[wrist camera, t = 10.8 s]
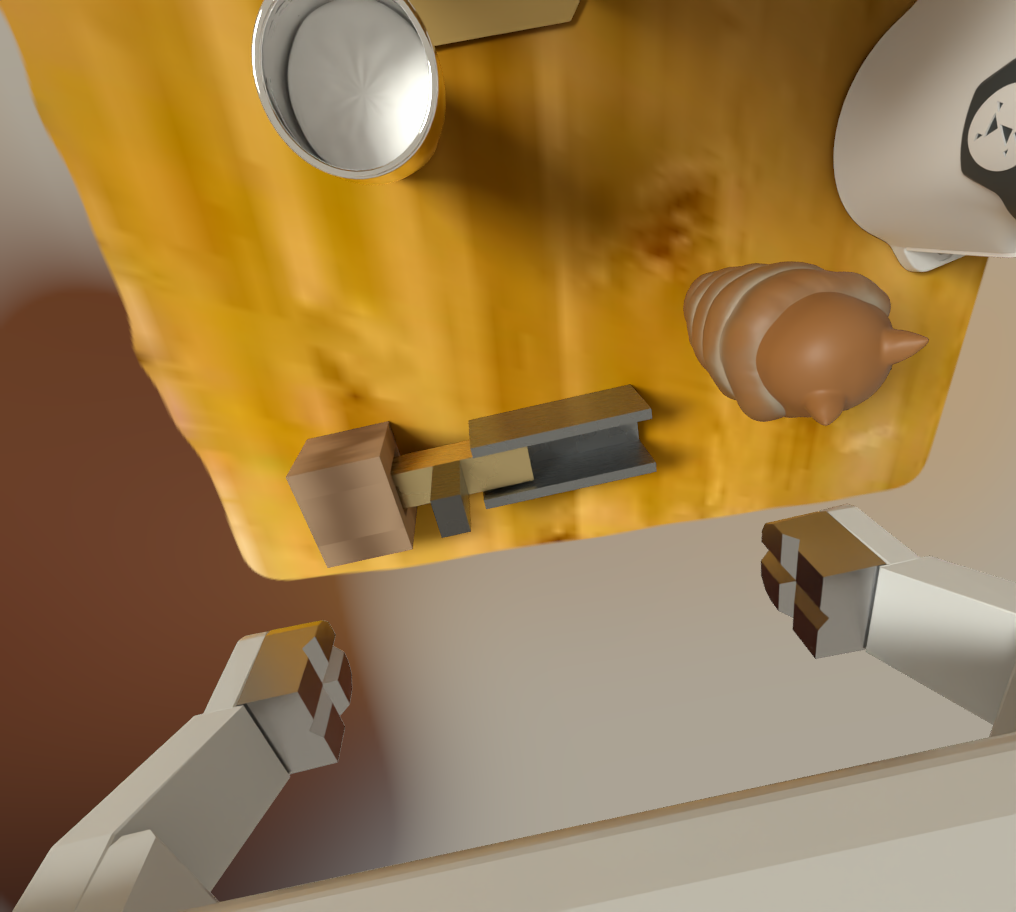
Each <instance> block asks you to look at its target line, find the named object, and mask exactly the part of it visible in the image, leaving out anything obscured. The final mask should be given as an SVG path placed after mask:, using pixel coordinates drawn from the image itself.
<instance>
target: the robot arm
mask: <svg viewBox="0 0 1016 912" xmlns="http://www.w3.org/2000/svg"><path fill="white" fill-rule="evenodd" d="M834 175H835V181H836V185H837V190H838V193H839V196H840V198H841V201H842V203H843V205H844V207H845V209H846V210H847V212H848V213H849V215H850V216H851V217H852V219H853V220H854V221H855V222H856V223H857V224H858V225H859V226H860V227H861V228H863V229H864V230H865V231H867V232H868V233H870V234H872V235H874V236H876V237H878V238H880V239H882V240H883V241H885V242H886V243H888V244H889V245H890V246H891V248H892V250H893V252H894V254H895V255H896V257H897V259H898V260H899V262H900V263H901V265H902V266H903V267H904V268H905V269H906V270H908V271H912V272H926V271H929V270H932V269H934V268H937V267H939V266H942V265H944V264H946V263H949V262H951V261H954V260H956V259H958V258H961V257H963V256H966V255H972V256H986V257H1002V258H1012V257H1016V0H918V1H917V2H916V3H915V4H914V5H913V6H912V7H911V8H910V9H909V10H908V11H907V12H906V13H905V14H904V15H903V16H902V17H901V18H900V19H899V20H898V21H897V22H896V23H895V24H894V25H893V26H892V27H891V28H890V29H889V30H888V31H887V32H886V33H885V34H884V35H883V37H882V38H881V39H880V40H879V41H878V43H877V44H876V45H875V47H874V48H873V49H872V51H871V52H870V54H869V55H868V57H867V58H866V59H865V61H864V63H863V64H862V66H861V68H860V69H859V71H858V73H857V75H856V77H855V79H854V80H853V82H852V85H851V87H850V89H849V91H848V94H847V96H846V99H845V101H844V104H843V107H842V110H841V113H840V117H839V121H838V125H837V130H836V135H835V143H834ZM762 543H763V544H764V545H765V546H766V547H767V549H768V550H769V551H768V552H767V553H766V555H765V556H764V557H763V559H762V560H761V577H762V580H763V584H764V587H765V590H766V592H767V594H768V596H769V598H770V600H771V601H772V603H773V604H774V606H775V607H776V608H777V610H778V611H780V612H782V613H784V614H786V615H788V616H790V617H793V631H794V632H795V633H796V634H797V636H798V637H799V638H800V640H801V641H802V642H803V644H804V645H805V646H806V647H807V649H808V650H809V651H810V652H811V654H812V655H813V656H814V658H815V659H817V658H822V657H828V656H833V655H839V654H843V653H849V652H855V651H860V650H865V649H866V652H867V653H868V654H870V655H872V656H874V657H875V658H877V659H879V660H881V661H883V662H884V663H886V664H888V665H889V666H891V667H893V668H895V669H896V670H898V671H900V672H902V673H903V674H905V675H907V676H909V677H910V678H912V679H914V680H916V681H917V682H919V683H921V684H923V685H924V686H926V687H928V688H929V689H931V690H933V691H935V692H937V693H938V694H940V695H942V696H943V697H945V698H947V699H949V700H950V701H952V702H954V703H956V704H957V705H959V706H961V707H963V708H964V709H966V710H968V711H970V712H972V713H973V714H975V715H977V716H978V717H980V718H982V719H984V720H985V721H987V722H989V723H991V724H993V727H992V730H991V733H990V736H989V738H984V739H979V740H975V741H970V742H965V743H961V744H956V745H951V746H947V747H942V748H937V749H933V750H928V751H923V752H919V753H914V754H909V755H905V756H900V757H895V758H890V759H886V760H881V761H877V762H872V763H867V764H863V765H858V766H853V767H849V768H844V769H839V770H835V771H830V772H825V773H821V774H816V775H811V776H807V777H802V778H797V779H793V780H789V781H784V782H779V783H774V784H770V785H765V786H760V787H756V788H751V789H746V790H742V791H737V792H733V793H728V794H723V795H719V796H714V797H709V798H705V799H700V800H695V801H691V802H686V803H681V804H677V805H673V806H667V807H663V808H658V809H654V810H649V811H644V812H640V813H636V814H631V815H626V816H621V817H617V818H612V819H607V820H602V821H598V822H593V823H588V824H583V825H579V826H574V827H570V828H565V829H560V830H555V831H551V832H546V833H541V834H537V835H533V836H527V837H523V838H518V839H513V840H509V841H504V842H499V843H495V844H490V845H485V846H481V847H476V848H471V849H467V850H462V851H457V852H452V853H448V854H443V855H438V856H434V857H429V858H424V859H420V860H415V861H410V862H406V863H401V864H396V865H392V866H387V867H383V868H378V869H373V870H368V871H364V872H359V873H354V874H350V875H345V876H340V877H336V878H331V879H326V880H322V881H317V882H312V883H308V884H303V885H298V886H294V887H289V888H284V889H279V890H275V891H270V892H265V893H261V894H257V895H251V896H247V897H242V898H237V899H233V900H228V901H224V902H219V901H218V900H217V899H216V898H215V897H214V896H213V895H212V894H211V893H210V891H211V890H212V889H213V887H214V886H215V884H216V883H217V881H218V880H219V879H220V877H221V876H222V874H223V873H224V871H225V870H226V868H227V867H228V866H229V864H230V863H231V861H232V860H233V858H234V857H235V855H236V854H237V853H238V851H239V850H240V848H241V847H242V845H243V844H244V843H245V841H246V840H247V838H248V837H249V835H250V834H251V832H252V831H253V830H254V828H255V827H256V825H257V824H258V822H259V821H260V820H261V818H262V817H263V815H264V814H265V812H266V811H267V809H268V808H269V807H270V805H271V804H272V802H273V801H274V799H275V798H276V797H277V795H278V794H279V792H280V791H281V789H282V788H283V786H284V785H285V784H286V782H287V781H288V779H289V778H290V775H289V774H292V773H296V772H300V771H304V770H308V769H312V768H316V767H320V766H324V765H328V764H332V763H336V762H338V759H339V754H340V749H341V745H342V739H343V735H344V730H345V726H344V723H343V721H342V720H341V718H340V715H341V714H342V713H343V712H344V710H345V709H346V708H347V707H348V705H349V704H350V699H351V694H352V673H351V669H350V665H349V662H348V659H347V657H346V655H345V653H344V652H343V651H342V650H340V649H338V648H336V647H334V646H333V644H334V640H335V636H336V634H335V633H334V631H333V629H332V627H331V625H330V623H329V622H327V621H324V620H322V621H317V622H311V623H307V624H301V625H296V626H291V627H286V628H281V629H275V630H271V631H269V632H263V633H258V634H252V635H248V636H244V637H243V638H242V639H240V640H239V641H238V643H237V645H236V646H235V648H234V651H233V653H232V655H231V657H230V659H229V661H228V663H227V665H226V668H225V670H224V672H223V674H222V676H221V678H220V680H219V682H218V684H217V686H216V688H215V690H214V692H213V695H212V697H211V699H210V701H209V703H208V705H207V707H206V709H205V711H204V714H201V715H196V716H194V717H193V718H192V719H191V720H190V721H189V722H187V723H186V724H185V725H184V726H183V727H182V728H181V729H180V730H179V731H178V732H177V733H175V734H174V735H173V736H172V737H171V738H170V739H169V740H168V741H167V742H166V743H165V744H163V745H162V746H161V747H160V748H159V749H158V750H157V751H156V752H155V753H154V754H153V755H152V756H150V757H149V758H148V759H147V760H146V761H145V762H144V763H143V764H142V765H141V766H140V767H139V768H138V769H136V770H135V771H134V772H133V773H132V774H131V775H130V776H129V777H128V778H127V779H126V780H124V781H123V782H122V783H121V784H120V785H119V786H118V787H117V788H116V789H115V790H114V791H112V793H110V794H109V795H108V796H107V797H106V798H105V799H104V800H103V801H102V802H101V803H99V804H98V805H97V806H96V807H95V808H94V809H93V810H92V811H91V812H90V813H89V814H88V815H86V816H85V817H84V818H83V819H82V820H81V821H80V822H79V823H78V824H77V825H76V826H75V827H73V828H72V829H71V830H70V831H69V832H68V833H67V834H66V835H65V836H64V837H63V838H61V839H60V840H59V841H58V842H57V843H56V844H55V845H54V846H53V847H52V848H51V849H50V851H49V852H48V854H47V856H46V858H45V859H44V861H43V862H42V864H41V865H40V867H39V869H38V870H37V872H36V874H35V875H34V877H33V879H32V880H31V882H30V884H29V885H28V887H27V888H26V890H25V892H24V893H23V895H22V897H21V898H20V900H19V902H18V903H17V905H16V907H15V908H14V910H13V911H12V912H1016V582H1013V581H1010V580H1007V579H1003V578H1000V577H997V576H994V575H990V574H987V573H984V572H980V571H977V570H974V569H971V568H968V567H965V566H961V565H958V564H955V563H952V562H948V561H945V560H942V559H939V558H936V557H933V556H926V557H919V556H918V555H917V554H916V553H914V552H913V551H912V550H910V549H909V548H908V547H907V546H906V545H904V544H903V543H901V542H900V541H899V540H898V539H897V538H895V537H894V536H893V535H892V534H890V533H889V532H888V531H887V530H885V529H884V528H882V527H881V526H880V525H879V524H878V523H876V522H875V521H874V520H873V519H871V518H870V517H869V516H867V515H866V514H865V513H864V512H862V511H861V510H860V509H859V508H857V507H856V506H854V505H850V504H845V505H840V506H836V507H832V508H828V509H824V510H820V511H819V512H813V513H809V514H805V515H800V516H796V517H792V518H787V519H782V520H778V521H774V522H769V523H766V524H765V525H764V527H763V529H762Z"/></svg>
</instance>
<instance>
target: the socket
mask: <svg viewBox="0 0 1016 912" xmlns="http://www.w3.org/2000/svg"><path fill="white" fill-rule="evenodd" d="M395 456H400V453H399V450H398V447H397V444H396V441H395V438H394V435H393V432H392V429H391V426H390V423H389V421H388V422H383V423H379V424H374V425H370V426H365V427H361V428H356V429H352V430H348V431H343V432H339V433H334V434H330V435H325V436H321V437H316V438H312V439H307V441H306V443H305V445H304V446H303V448H302V450H301V452H300V453H299V455H298V457H297V459H296V460H295V462H294V464H293V466H292V467H291V469H290V471H289V473H288V474H287V476H286V479H287V481H288V483H289V485H290V487H291V490H292V492H293V494H294V496H295V498H296V500H297V503H298V505H299V507H300V509H301V511H302V513H303V516H304V518H305V520H306V522H307V524H308V526H309V529H310V531H311V533H312V535H313V537H314V539H315V542H316V544H317V546H318V548H319V550H320V552H321V554H322V557H323V559H324V561H325V563H326V565H327V567H328V568H330V567H334V566H339V565H343V564H348V563H352V562H357V561H361V560H366V559H370V558H375V557H379V556H384V555H388V554H393V553H398V552H402V551H407V550H411V549H413V541H414V532H415V523H416V514H417V506H415V507H410V508H406V509H403V507H402V504H401V502H400V499H399V496H398V493H397V490H396V487H395V485H394V482H393V479H392V476H391V473H390V471H391V466H392V462H393V457H395Z"/></svg>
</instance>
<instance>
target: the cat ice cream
mask: <svg viewBox="0 0 1016 912" xmlns="http://www.w3.org/2000/svg"><path fill="white" fill-rule="evenodd" d="M683 309H684V316H685V320H686V322H687V329H688V335H689V341H690V344H691V346H692V347H693V349H694V352H695V355H696V357H697V359H698V360H699V362H700V363H701V365H702V366H703V367H704V368H705V369H706V370H707V371H708V372H709V374H710V376H711V377H712V379H713V380H714V382H715V384H716V385H717V387H718V388H719V389H720V391H721V392H722V393H723V394H724V395H725V396H727V397H729V398H731V399H734V400H737V403H738V404H739V406H740V408H741V410H742V411H743V412H744V413H745V414H746V415H747V416H748V417H750V418H751V419H753V420H756V421H762V422H765V421H771V420H775V419H779V418H782V417H788V418H794V417H813V419H814V420H816V421H817V422H818V423H820V424H822V425H829V424H831V423H832V422H833V421H834V420H836V419H837V418H838V417H839V415H840V414H841V413H842V411H844V410H848V409H850V408H852V407H854V406H856V405H858V404H860V403H862V402H863V401H865V400H867V399H868V398H869V397H871V396H872V395H873V394H874V393H875V392H876V391H877V390H878V389H879V388H880V386H881V385H882V384H883V382H884V381H885V379H886V378H887V376H888V374H889V372H890V370H891V369H892V368H891V367H892V365H893V364H895V363H898V362H900V361H903V360H905V359H907V358H909V357H911V356H912V355H914V354H915V353H917V352H918V351H919V350H921V349H922V348H923V347H924V346H925V345H926V344H927V343H928V341H929V339H928V338H927V337H924V336H922V335H919V334H916V333H913V332H909V331H904V330H897V329H893V328H892V325H891V322H890V320H889V318H888V316H889V313H890V309H891V304H890V299H889V297H888V295H887V294H886V293H885V292H884V291H882V290H881V289H880V288H879V287H878V286H877V285H876V284H875V283H874V282H872V281H871V280H869V279H868V278H866V277H864V276H862V275H860V274H857V273H853V272H831V271H826V270H824V269H822V268H820V267H818V266H816V265H813V264H808V263H804V262H779V263H774V264H769V265H768V264H759V263H755V264H748V265H744V266H738V267H728V268H724V269H721V270H719V271H714V272H710V273H706V274H703V275H701V276H700V277H698V278H697V279H696V280H695V281H694V282H693V283H692V285H691V286H690V288H689V290H688V292H687V294H686V297H685V300H684V308H683Z"/></svg>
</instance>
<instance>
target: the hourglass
mask: <svg viewBox="0 0 1016 912" xmlns="http://www.w3.org/2000/svg"><path fill="white" fill-rule="evenodd" d="M409 1H410V2H411V3H412V5H413V6H414V8H415V9H416V11H417V12H418V14H419V15H420V17H421V19H422V21H423V23H424V25H425V27H426V29H427V31H428V34H429V36H430V38H431V40H432V42H433V45H434V46H437V45H442V44H448V43H453V42H459V41H464V40H470V39H475V38H481V37H486V36H492V35H497V34H503V33H508V32H514V31H519V30H525V29H531V28H536V27H542V26H547V25H553V24H558V23H564V22H569V21H571V19H572V17H573V15H574V13H575V11H576V8H577V6H578V4H579V2H580V0H409Z"/></svg>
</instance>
